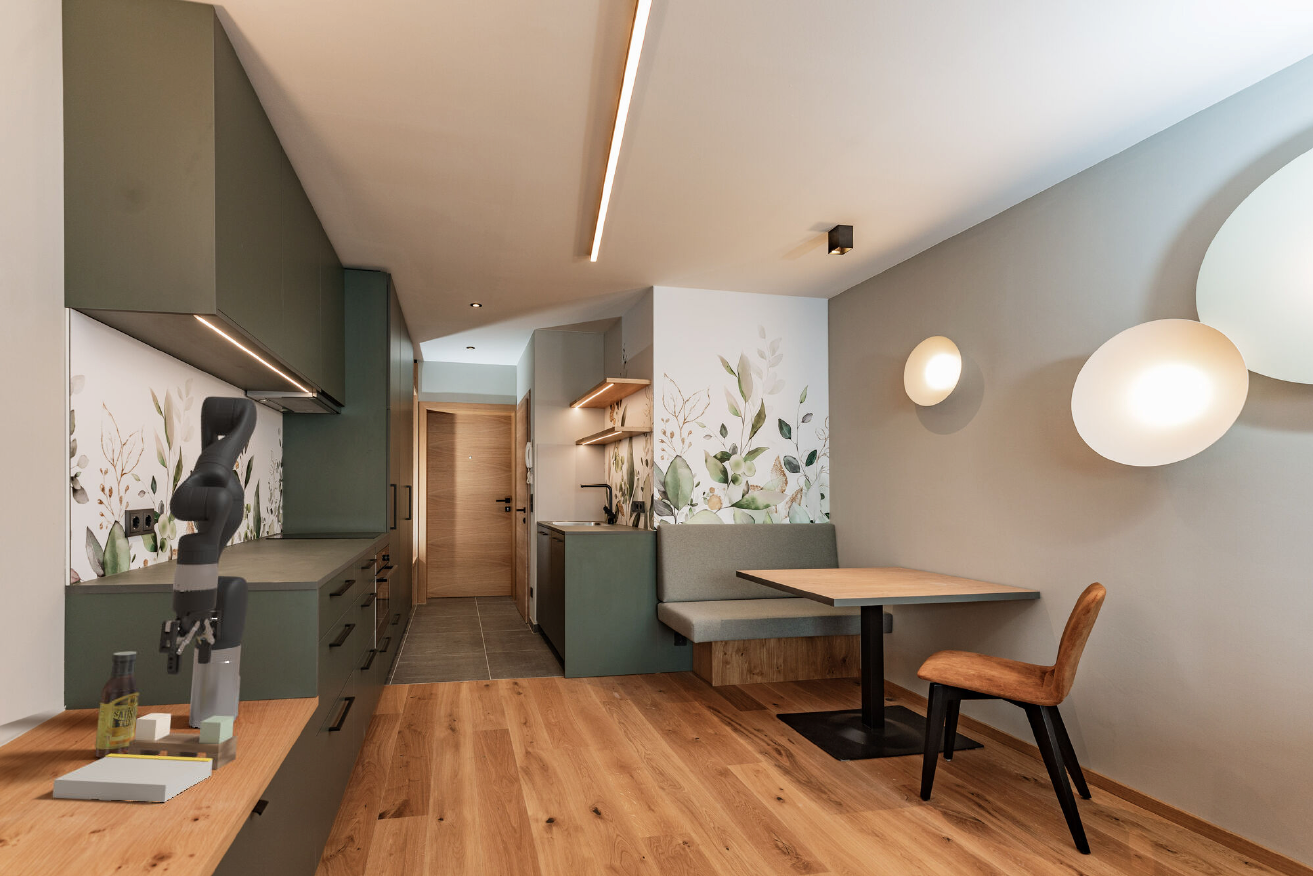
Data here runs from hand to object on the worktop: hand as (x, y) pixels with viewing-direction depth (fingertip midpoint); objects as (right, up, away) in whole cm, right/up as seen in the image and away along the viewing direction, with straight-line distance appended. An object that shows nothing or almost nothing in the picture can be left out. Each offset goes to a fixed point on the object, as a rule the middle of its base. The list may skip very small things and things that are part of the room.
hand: (189, 668), depth 142 cm
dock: (-1, -17, -13) cm, 22 cm away
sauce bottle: (-16, -18, +2) cm, 24 cm away
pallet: (0, -18, -1) cm, 18 cm away
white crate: (-7, -13, -1) cm, 15 cm away
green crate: (+6, -14, -1) cm, 15 cm away
